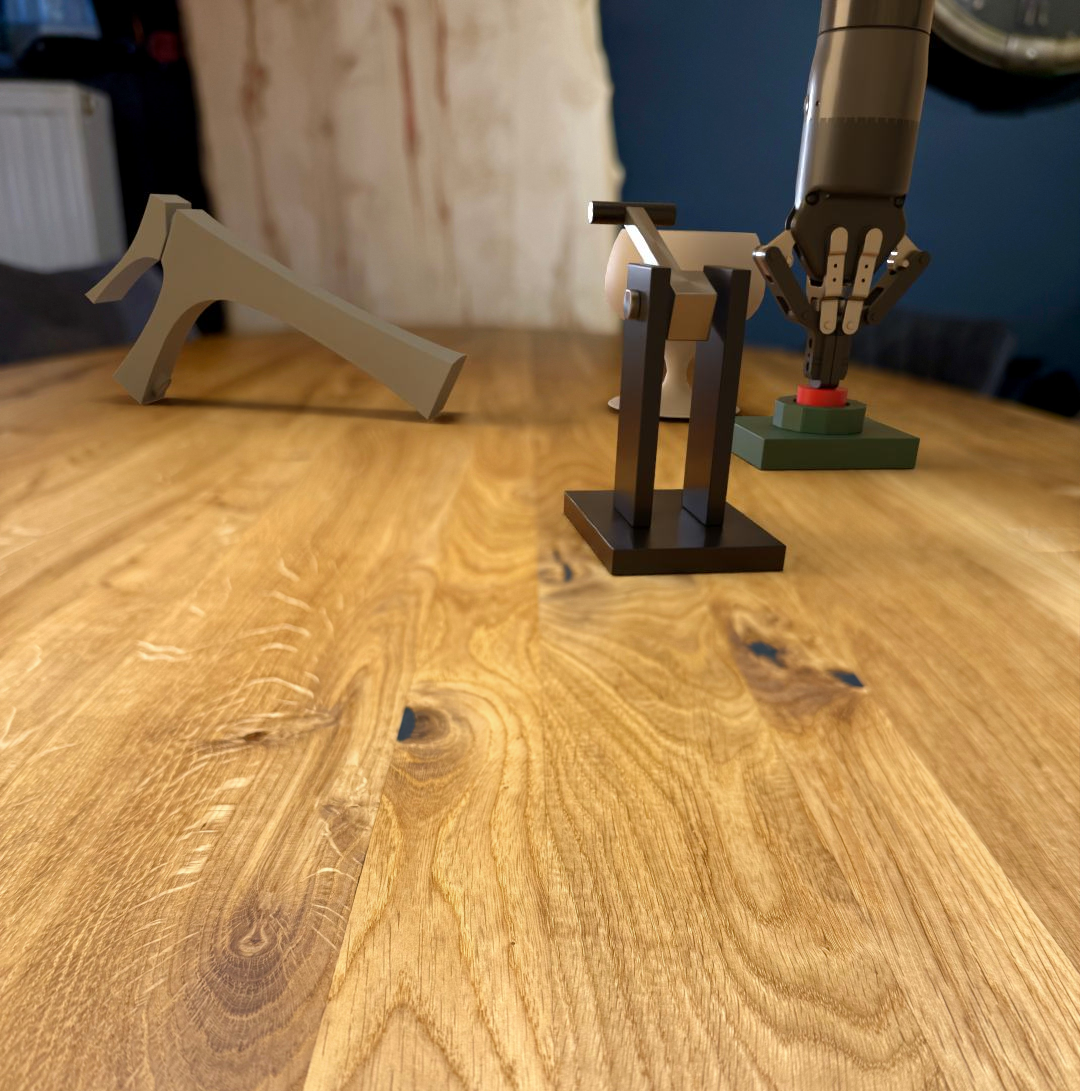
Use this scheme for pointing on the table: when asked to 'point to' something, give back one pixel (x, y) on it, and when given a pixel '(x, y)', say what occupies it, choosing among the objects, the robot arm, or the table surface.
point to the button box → (821, 439)
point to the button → (822, 396)
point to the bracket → (700, 507)
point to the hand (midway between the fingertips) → (823, 386)
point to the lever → (664, 265)
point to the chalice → (690, 256)
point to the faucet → (262, 283)
